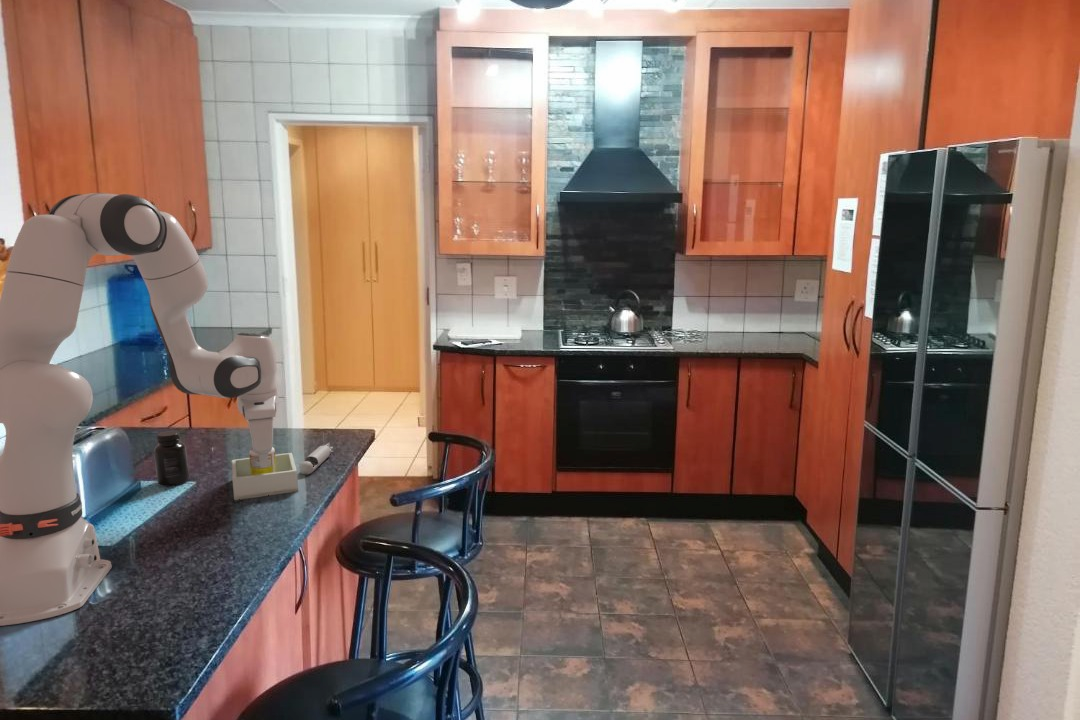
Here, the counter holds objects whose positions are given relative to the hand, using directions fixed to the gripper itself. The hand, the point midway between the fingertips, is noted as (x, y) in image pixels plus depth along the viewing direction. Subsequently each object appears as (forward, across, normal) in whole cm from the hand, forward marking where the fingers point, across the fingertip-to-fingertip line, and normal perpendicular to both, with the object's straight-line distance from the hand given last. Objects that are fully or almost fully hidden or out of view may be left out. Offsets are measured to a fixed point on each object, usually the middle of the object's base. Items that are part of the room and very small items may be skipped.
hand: (263, 459), depth 171 cm
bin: (+6, 0, 0) cm, 6 cm away
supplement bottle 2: (+6, 0, 0) cm, 6 cm away
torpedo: (+7, -11, +13) cm, 18 cm away
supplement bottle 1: (+7, -11, -20) cm, 24 cm away
